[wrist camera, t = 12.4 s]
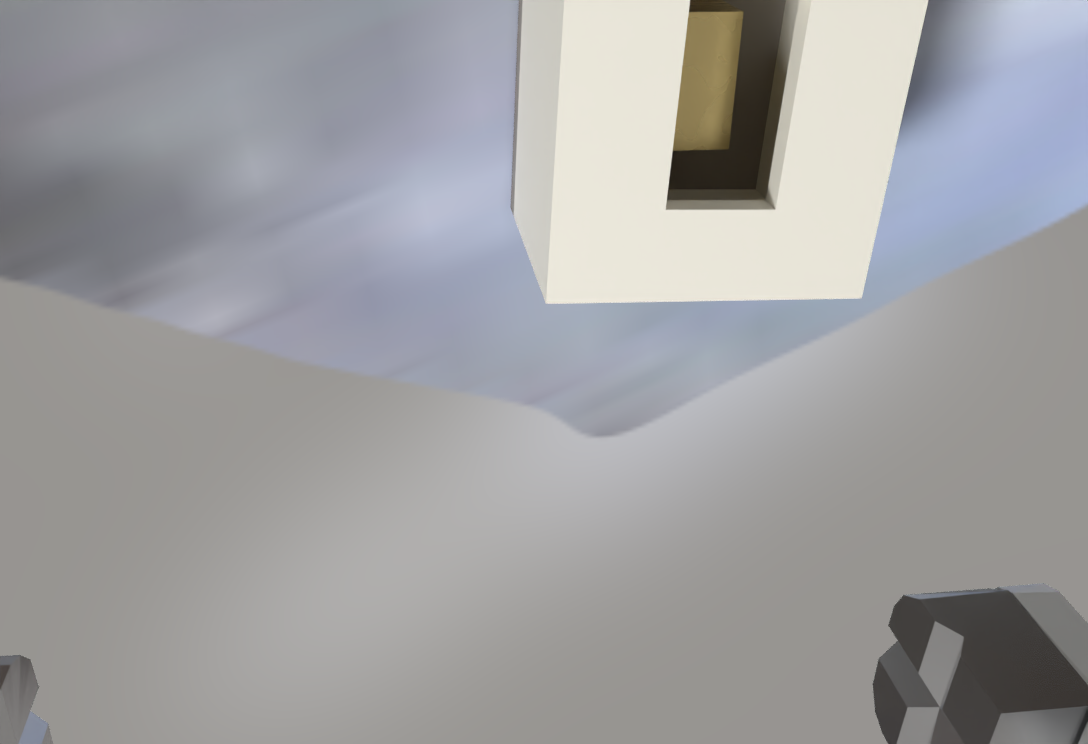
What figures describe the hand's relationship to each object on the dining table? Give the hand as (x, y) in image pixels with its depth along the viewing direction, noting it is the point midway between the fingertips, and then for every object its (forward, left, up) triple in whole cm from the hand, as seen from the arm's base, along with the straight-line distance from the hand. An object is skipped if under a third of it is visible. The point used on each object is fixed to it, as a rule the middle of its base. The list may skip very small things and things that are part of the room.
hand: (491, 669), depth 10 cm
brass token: (+1, +11, -34) cm, 36 cm away
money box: (+1, +11, -35) cm, 37 cm away
